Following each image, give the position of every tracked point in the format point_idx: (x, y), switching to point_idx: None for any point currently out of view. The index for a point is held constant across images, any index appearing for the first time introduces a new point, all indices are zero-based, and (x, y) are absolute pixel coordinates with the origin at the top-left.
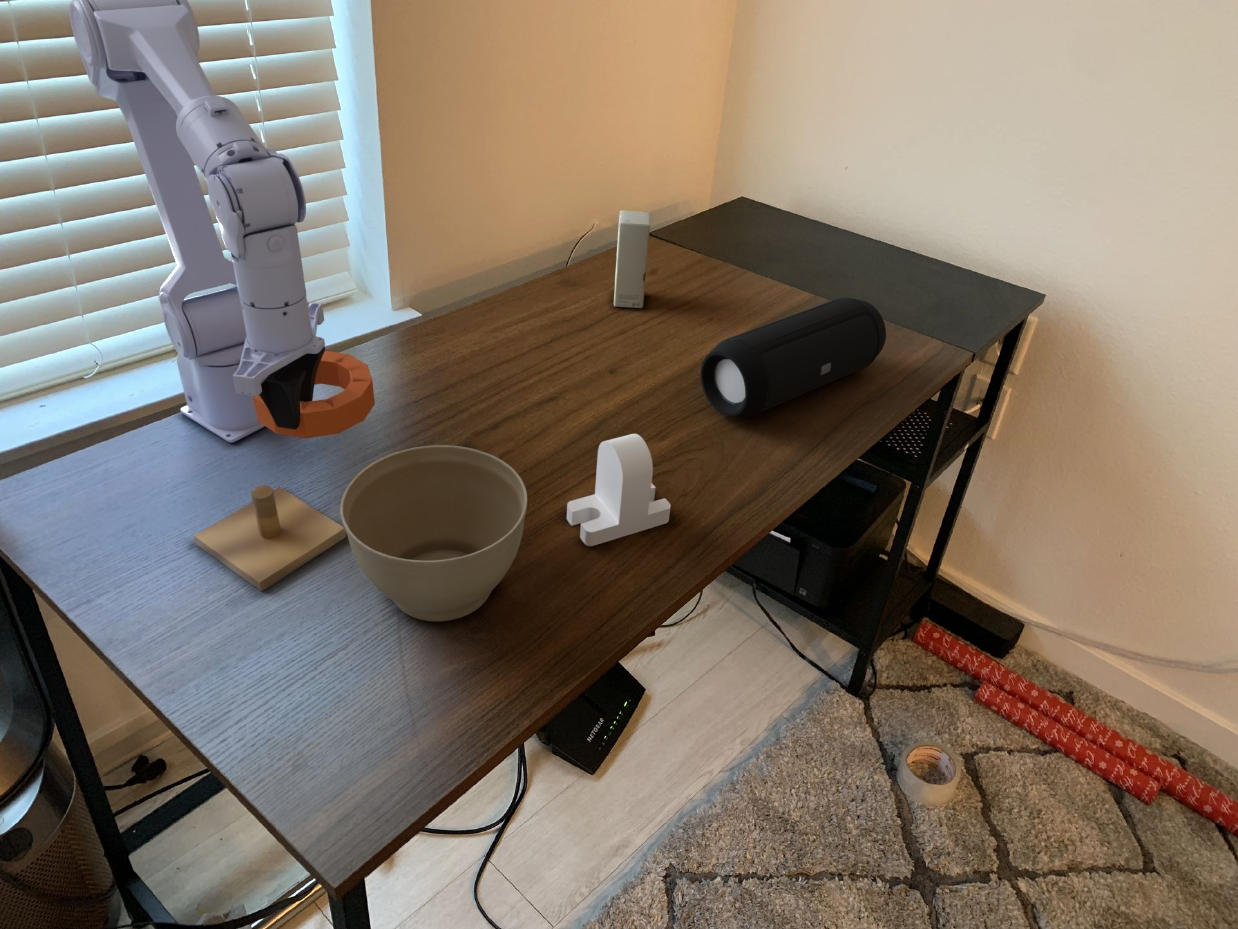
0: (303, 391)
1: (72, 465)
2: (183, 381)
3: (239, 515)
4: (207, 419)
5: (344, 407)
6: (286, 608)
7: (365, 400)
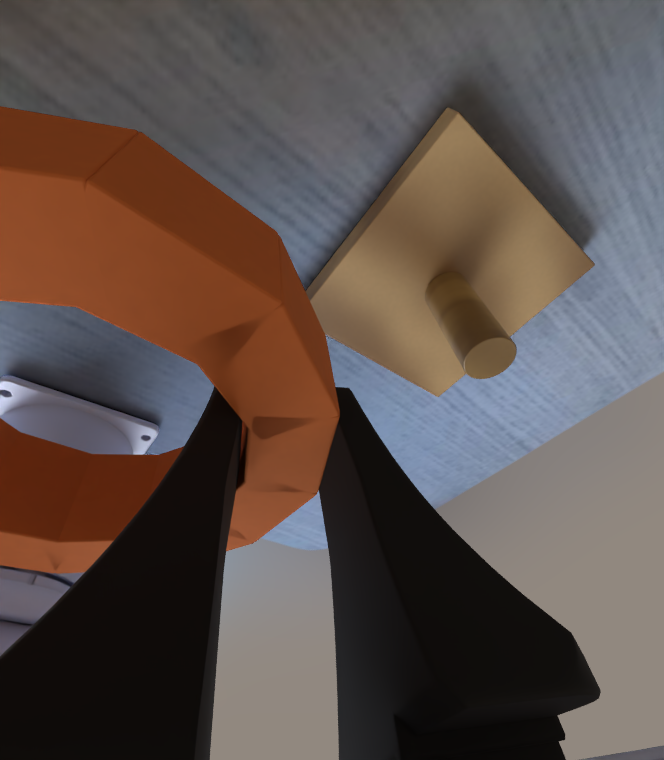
0: (231, 473)
1: (268, 535)
2: None
3: (391, 355)
4: None
5: (230, 259)
6: (646, 192)
7: (40, 145)
